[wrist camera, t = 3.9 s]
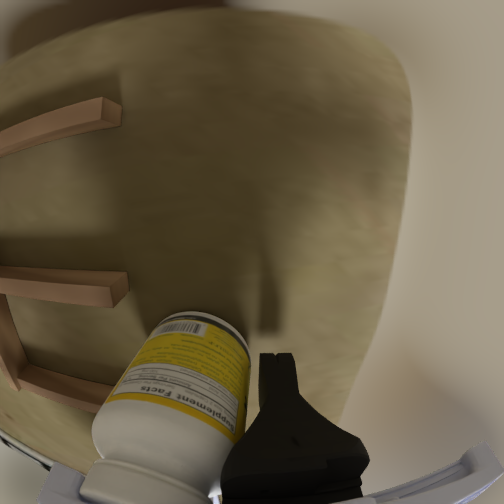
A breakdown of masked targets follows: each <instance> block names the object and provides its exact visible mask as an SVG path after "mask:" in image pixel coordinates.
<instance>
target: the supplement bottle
mask: <svg viewBox="0 0 504 504" xmlns="http://www.w3.org/2000/svg"><path fill="white" fill-rule="evenodd" d="M250 373H251V356H250V351H249V348H248V346H247V344H246V342H245V340H244V339H243V337H242V336H241V335H240V333H239V332H238V331H237V330H236V329H235V328H234V327H232V326H231V325H230V324H228V323H227V322H225V321H224V320H222V319H220V318H218V317H216V316H213V315H210V314H207V313H202V312H195V311H188V312H180V313H176V314H173V315H171V316H169V317H167V318H165V319H164V320H162V321H161V322H160V323H159V324H158V325H157V326H156V327H155V329H154V330H153V331H152V333H151V334H150V336H149V337H148V338H147V340H146V341H145V343H144V344H143V346H142V347H141V349H140V350H139V352H138V353H137V355H136V356H135V358H134V359H133V360H132V362H131V363H130V365H129V366H128V368H127V369H126V371H125V372H124V374H123V375H122V377H121V378H120V380H119V381H118V383H117V384H116V386H115V387H114V389H113V390H112V392H111V393H110V395H109V396H108V398H107V399H106V401H105V402H104V404H103V405H102V407H101V408H100V410H99V411H98V413H97V415H96V417H95V418H94V421H93V424H92V438H93V442H94V445H95V447H96V449H97V451H98V452H99V454H100V455H101V457H102V458H103V459H98V460H96V461H95V462H94V463H93V466H92V467H91V468H90V470H89V472H88V474H87V476H86V478H85V480H84V482H83V484H82V486H81V488H80V492H79V493H80V495H81V497H82V498H83V499H85V500H86V501H88V502H90V503H92V504H213V502H212V501H211V499H210V497H214V496H217V495H220V494H222V493H221V488H220V477H221V471H222V468H223V465H224V463H225V461H226V459H227V457H228V455H229V453H230V451H231V449H232V447H233V446H234V445H235V444H236V443H237V442H238V441H239V440H240V439H241V437H242V436H243V435H244V434H245V426H246V416H247V405H248V394H249V383H250Z"/></svg>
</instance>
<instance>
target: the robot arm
mask: <svg viewBox="0 0 504 504" xmlns="http://www.w3.org/2000/svg"><path fill="white" fill-rule="evenodd" d="M258 386H259V406H260V412H259V413H258V415H257V417H256V418H255V420H254V422H253V423H252V424H251V426H250V427H249V428H248V430H247V431H246V433H245V434H244V435H243V436H242V437H241V439H240V440H239V441H238V442H237V443H236V444H235V445H234V446H233V447H232V449H231V451H230V453H229V455H228V457H227V459H226V461H225V463H224V465H223V468H222V471H221V477H220V488H221V493H222V504H466V503H468V502H470V501H471V500H473V499H474V498H476V497H477V496H478V495H479V494H481V493H482V492H483V491H484V490H485V489H487V488H488V487H489V486H490V485H491V484H492V483H494V481H496V480H497V479H498V478H499V477H500V476H501V475H502V474H503V473H504V468H503V466H502V465H501V463H500V461H499V460H498V458H497V457H496V455H495V453H494V452H493V450H492V449H491V447H490V446H489V444H488V443H487V441H486V440H484V441H482V442H480V443H478V444H477V445H475V446H474V447H472V448H470V449H469V450H467V451H466V452H465V453H464V454H463V455H462V457H461V458H460V459H459V460H458V461H456V462H454V463H452V464H450V465H447V466H445V467H443V468H442V469H439V470H437V471H435V472H432V473H430V474H428V475H425V476H423V477H420V478H418V479H415V480H413V481H410V482H407V483H405V484H402V485H399V486H396V487H393V488H390V489H387V490H384V491H380V492H377V493H373V494H369V495H366V496H363V494H362V491H361V487H360V486H361V485H362V481H361V478H360V476H361V474H362V473H363V471H364V470H365V469H366V467H367V466H368V464H369V462H370V459H369V455H368V453H367V450H366V449H365V447H364V445H363V443H362V442H361V440H360V438H358V437H356V436H354V435H352V434H350V433H348V432H346V431H344V430H342V429H341V428H339V427H337V426H336V425H334V424H333V423H331V422H330V421H329V420H327V419H326V418H325V417H323V416H322V415H321V414H320V413H318V412H317V411H316V410H315V409H314V408H313V407H312V406H311V405H310V404H309V403H308V402H307V401H306V400H305V399H304V398H303V397H302V396H301V395H300V394H299V389H298V381H297V374H296V366H295V361H294V358H293V356H292V354H291V353H278V354H277V355H276V356H275V355H274V354H273V353H260V360H259V384H258ZM84 480H85V477H84V475H82V474H81V473H80V472H78V471H76V470H74V469H72V468H70V467H67V466H65V465H63V464H61V463H58V462H54V464H53V466H52V468H51V470H50V472H49V474H48V476H47V478H46V480H45V482H44V484H43V486H42V489H41V491H40V493H39V495H38V497H37V502H38V503H39V504H92V503H90V502H88V501H86V500H85V499H83V498H82V497H81V495H80V493H79V492H80V488H81V486H82V484H83V482H84ZM210 499H211V501H212V502H213V504H220V501H219V497H218V495H217V496H214V497H210Z"/></svg>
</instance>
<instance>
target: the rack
mask: <svg viewBox="0 0 504 504" xmlns="http://www.w3.org/2000/svg"><path fill="white" fill-rule="evenodd" d="M121 116H122V106H121V105H119V104H117V103H115V102H113V101H111V100H109V99H107V98H105V97H99V98H94V99H91V100H87V101H83V102H79V103H76V104H72V105H69V106H66V107H62V108H59V109H56V110H53V111H50V112H47V113H44V114H42V115H39V116H36V117H34V118H31V119H28V120H26V121H23V122H21V123H19V124H16V125H14V126H12V127H9V128H7V129H5V130H3V131H1V132H0V157H3V156H6V155H8V154H11V153H14V152H17V151H20V150H23V149H26V148H29V147H32V146H36V145H39V144H43V143H46V142H50V141H53V140H57V139H61V138H65V137H69V136H73V135H78V134H82V133H87V132H91V131H96V130H102V129H107V128H113V127H119V126H121ZM129 291H130V290H129V283H128V276H127V272H120V271H92V270H68V269H48V268H29V267H13V266H0V367H1V369H2V371H3V373H4V375H5V377H6V379H7V381H8V383H9V385H10V387H11V388H12V389H14V390H16V391H18V392H19V391H20V389H21V388H23V389H25V390H28V391H30V392H33V393H35V394H38V395H40V396H43V397H45V398H48V399H51V400H53V401H56V402H59V403H62V404H65V405H68V406H71V407H74V408H78V409H81V410H84V411H88V412H92V413H95V414H97V413H98V411H99V410H100V408H101V407H102V405H103V404H104V402H105V401H106V399H107V398H108V396H109V395H110V393H111V392H112V390H113V389H114V387H115V386H110V385H105V384H100V383H96V382H91V381H87V380H83V379H79V378H75V377H71V376H67V375H64V374H60V373H57V372H53V371H50V370H47V369H43V368H40V367H37V366H34V365H31V364H29V362H28V360H27V357H26V355H25V352H24V350H23V347H22V345H21V342H20V340H19V337H18V334H17V332H16V329H15V326H14V323H13V320H12V317H11V314H10V311H9V307H8V304H7V300H6V297H5V294H8V295H14V296H20V297H26V298H32V299H39V300H46V301H54V302H61V303H69V304H78V305H87V306H97V307H108V308H114V307H115V306H116V305H117V304H118V303H119V301H120V300H121V299H122V298H123V297H124V296H125V295H126V294H127V293H128V292H129Z"/></svg>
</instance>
